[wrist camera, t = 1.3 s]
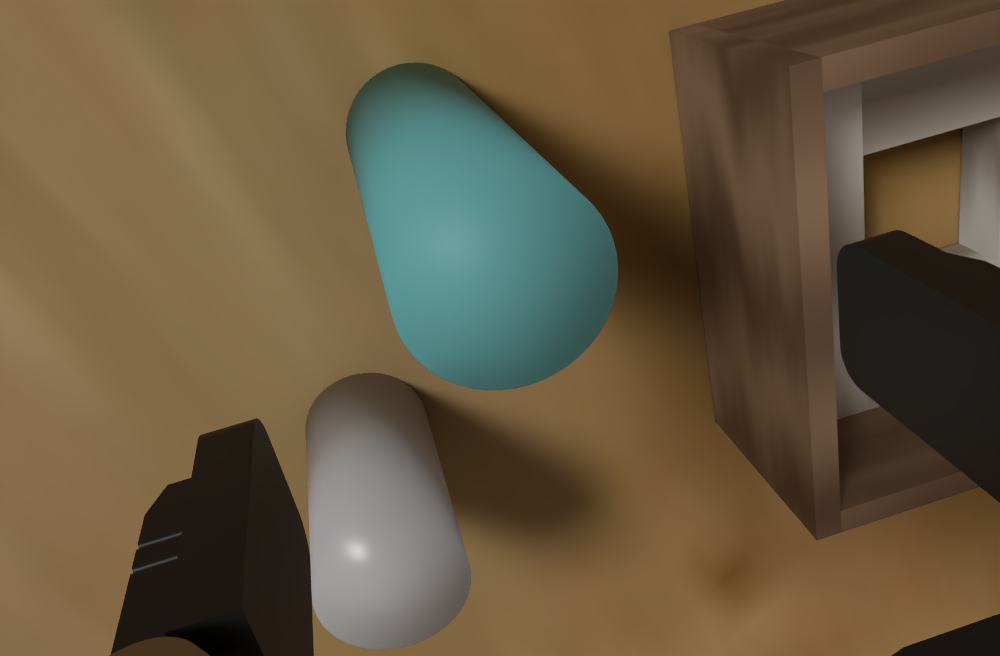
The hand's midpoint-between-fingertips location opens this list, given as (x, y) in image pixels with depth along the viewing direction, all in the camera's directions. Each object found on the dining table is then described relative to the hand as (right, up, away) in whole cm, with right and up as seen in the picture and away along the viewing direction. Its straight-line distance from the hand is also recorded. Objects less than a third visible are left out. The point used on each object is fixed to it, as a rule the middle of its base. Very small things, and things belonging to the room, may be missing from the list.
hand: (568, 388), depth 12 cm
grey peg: (-5, -2, +18) cm, 18 cm away
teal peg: (-3, +6, +14) cm, 16 cm away
